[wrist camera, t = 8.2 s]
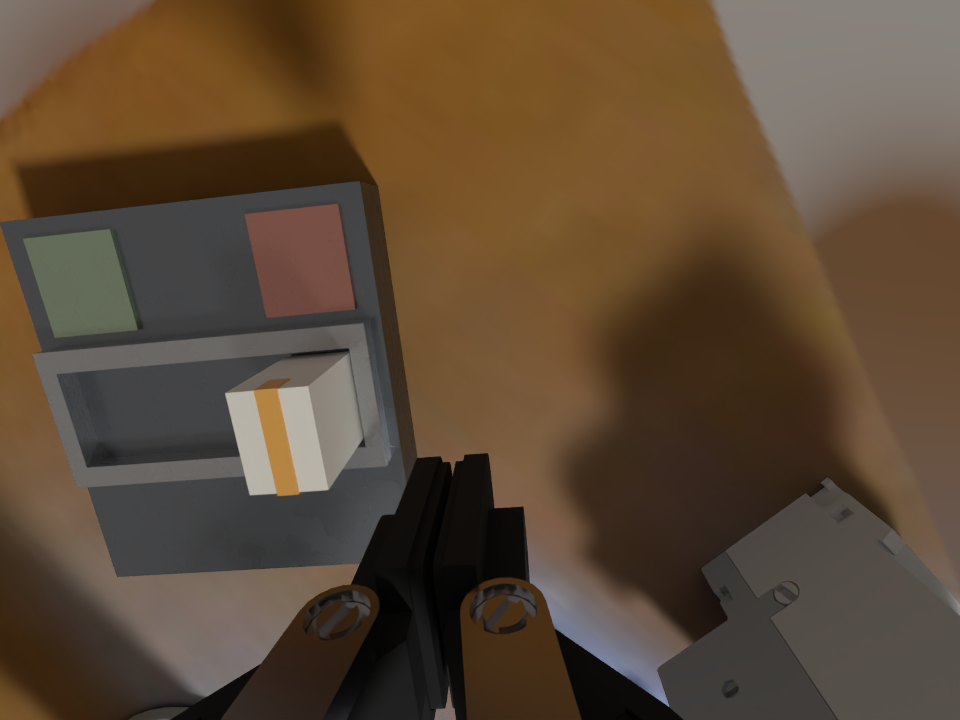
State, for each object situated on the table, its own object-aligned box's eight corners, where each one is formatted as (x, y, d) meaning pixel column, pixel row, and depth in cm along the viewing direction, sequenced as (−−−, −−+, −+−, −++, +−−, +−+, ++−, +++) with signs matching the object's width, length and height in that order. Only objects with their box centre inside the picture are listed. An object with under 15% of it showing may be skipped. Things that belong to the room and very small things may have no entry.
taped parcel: (365, 435, 23) (327, 492, 18) (302, 440, 24) (248, 497, 19) (350, 350, 22) (306, 385, 17) (285, 355, 23) (223, 392, 18)
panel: (427, 525, 28) (414, 573, 24) (155, 542, 29) (102, 590, 26) (377, 186, 24) (352, 178, 20) (59, 222, 25) (-24, 221, 21)
